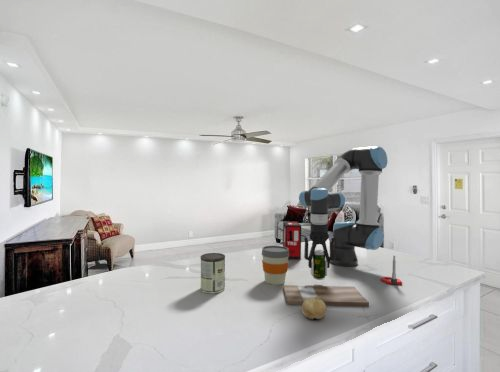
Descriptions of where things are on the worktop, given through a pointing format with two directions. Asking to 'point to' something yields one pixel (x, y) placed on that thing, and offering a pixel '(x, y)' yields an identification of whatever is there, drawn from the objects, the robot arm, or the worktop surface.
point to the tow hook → (393, 278)
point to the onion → (314, 307)
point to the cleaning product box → (292, 239)
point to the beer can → (319, 264)
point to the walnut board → (325, 295)
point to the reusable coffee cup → (275, 264)
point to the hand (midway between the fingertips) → (318, 274)
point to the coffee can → (212, 273)
